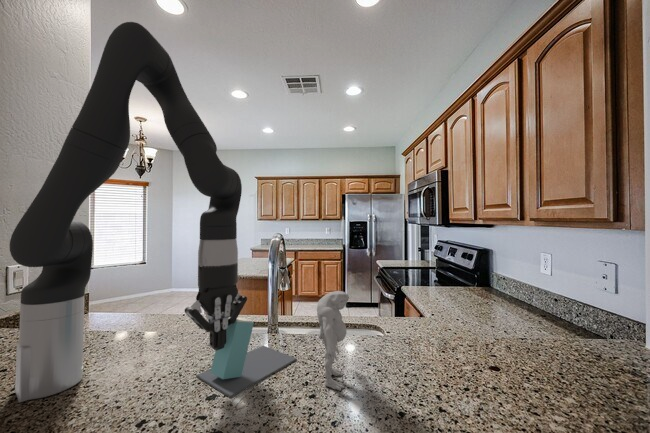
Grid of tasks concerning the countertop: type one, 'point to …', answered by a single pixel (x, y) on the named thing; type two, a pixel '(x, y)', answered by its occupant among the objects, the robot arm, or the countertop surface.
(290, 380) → the countertop surface
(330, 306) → the figurine
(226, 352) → the teal block
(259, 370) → the rubber mat
